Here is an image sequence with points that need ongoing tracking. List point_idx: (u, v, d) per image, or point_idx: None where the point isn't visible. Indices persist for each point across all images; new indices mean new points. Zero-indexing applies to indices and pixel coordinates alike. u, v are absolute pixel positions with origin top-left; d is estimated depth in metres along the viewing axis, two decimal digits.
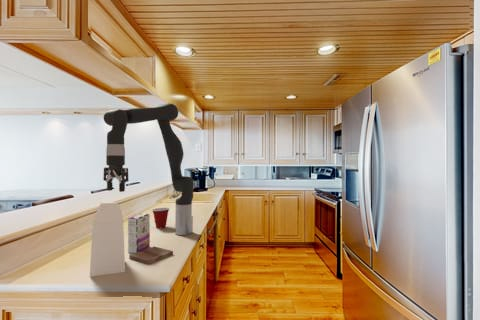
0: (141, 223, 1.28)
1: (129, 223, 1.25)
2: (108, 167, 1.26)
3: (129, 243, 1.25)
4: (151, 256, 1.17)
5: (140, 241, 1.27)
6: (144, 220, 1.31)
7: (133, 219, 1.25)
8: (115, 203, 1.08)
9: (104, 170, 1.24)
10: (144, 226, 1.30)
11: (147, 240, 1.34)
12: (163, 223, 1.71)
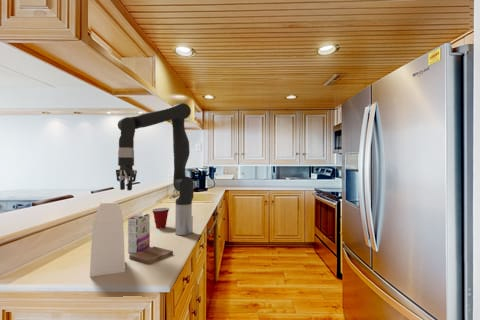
0: (141, 223, 1.28)
1: (129, 223, 1.25)
2: None
3: (129, 243, 1.25)
4: (151, 256, 1.17)
5: (140, 241, 1.27)
6: (144, 220, 1.31)
7: (133, 219, 1.25)
8: (115, 203, 1.08)
9: (116, 172, 1.42)
10: (144, 226, 1.30)
11: (147, 240, 1.34)
12: (163, 223, 1.71)
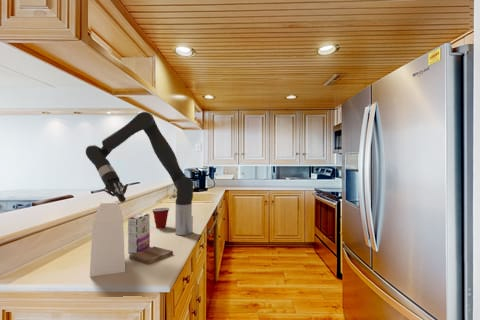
0: (141, 223, 1.28)
1: (129, 223, 1.25)
2: None
3: (129, 243, 1.25)
4: (151, 256, 1.17)
5: (140, 241, 1.27)
6: (144, 220, 1.31)
7: (133, 219, 1.25)
8: (115, 203, 1.08)
9: None
10: (144, 226, 1.30)
11: (147, 240, 1.34)
12: (163, 223, 1.71)
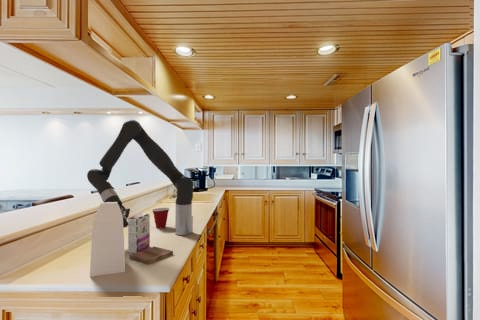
0: (141, 223, 1.28)
1: (129, 223, 1.25)
2: (128, 209, 1.43)
3: (129, 243, 1.25)
4: (151, 256, 1.17)
5: (140, 241, 1.27)
6: (144, 220, 1.31)
7: (133, 219, 1.25)
8: (115, 203, 1.08)
9: None
10: (144, 226, 1.30)
11: (147, 240, 1.34)
12: (163, 223, 1.71)
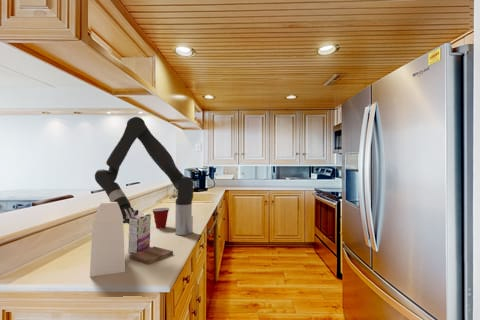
0: (142, 223, 1.28)
1: (130, 223, 1.25)
2: None
3: (129, 243, 1.25)
4: (151, 256, 1.17)
5: (140, 241, 1.27)
6: (146, 220, 1.31)
7: (135, 219, 1.25)
8: (115, 203, 1.08)
9: None
10: (145, 226, 1.30)
11: (148, 240, 1.33)
12: (163, 223, 1.71)
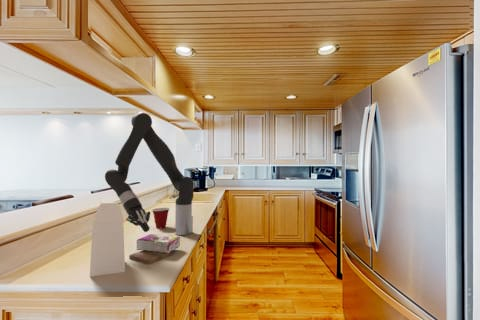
0: None
1: (163, 244, 1.22)
2: (148, 212, 1.36)
3: (145, 242, 1.24)
4: (151, 256, 1.17)
5: None
6: None
7: (166, 249, 1.21)
8: (115, 203, 1.08)
9: None
10: None
11: None
12: (163, 223, 1.71)
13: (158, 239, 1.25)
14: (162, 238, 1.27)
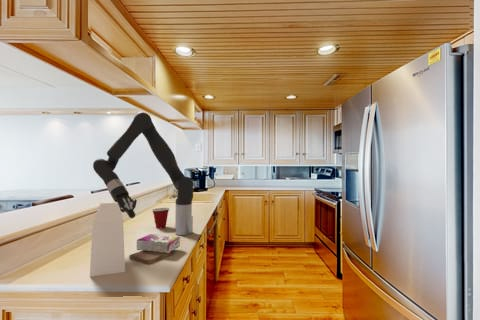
0: None
1: (163, 244, 1.21)
2: (135, 200, 1.41)
3: (145, 242, 1.24)
4: (151, 256, 1.17)
5: None
6: None
7: (166, 249, 1.21)
8: (115, 203, 1.08)
9: None
10: None
11: None
12: (163, 223, 1.71)
13: (158, 239, 1.25)
14: (162, 238, 1.27)
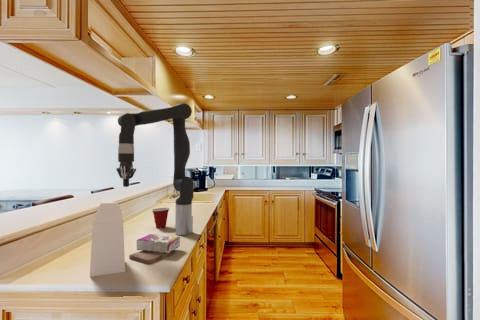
0: None
1: (163, 244, 1.21)
2: (119, 168, 1.44)
3: (145, 242, 1.24)
4: (151, 256, 1.17)
5: None
6: None
7: (166, 249, 1.21)
8: (115, 203, 1.08)
9: (117, 170, 1.42)
10: None
11: None
12: (163, 223, 1.71)
13: (158, 239, 1.25)
14: (162, 238, 1.27)
